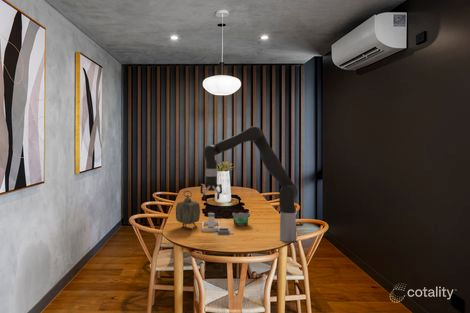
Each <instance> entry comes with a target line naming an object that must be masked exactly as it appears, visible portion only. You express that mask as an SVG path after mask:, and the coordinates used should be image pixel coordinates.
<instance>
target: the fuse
mask: <svg viewBox="0 0 470 313" xmlns="http://www.w3.org/2000/svg"><path fill="white" fill-rule="evenodd" d="M207 219H208V220H207V222H208V225H207V228H215V225H214V221H215V213H214V212H208V213H207Z"/></svg>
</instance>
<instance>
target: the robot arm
mask: <svg viewBox="0 0 470 313" xmlns="http://www.w3.org/2000/svg"><path fill="white" fill-rule="evenodd" d="M246 142H253V143H254V145H255V146H256V148H257V149H258V151H259V154H260V158H261V160H262V163H263V165H264V167H265V168H266V170H267V171H268V173H269V174H270V175H271V177H273V178H274V179H275V180H276V181H277V182H278V184H279V185H280V187H281V188H280V190H279V194H278V195H279V196H278V203H279V204H278V205H279V210H280V216H279V219H280V221H279V240H280V241H281V242H286V243H293V242H297V223H296V221H297V220H296V219H297V208H296V206H295V199H296V198H298V195H299V190H298V188H297V186H296V185H295V184H294V182H293V181H292V179H291V178H290V177H289V175H288V174H287V171H286V169H285V168H284V166H283V165H282V163H281V161H280V160H279V158H278V156H277V154H276V153H275V151H274V150H273V148H272V147H271V146H270V144H269V143H268V140H267V138H266V135H265V134H264V131H263V130H262V129H261V128H260V127H258V126H255V125H254V126H250V127H247V129H245V130H243V131H242V132H239V133H238V134H236V135H234V136H230V137H228V138H226V139H223V140H221V141H218V143H215V144H209V145H207V146H205V148H204V152H203V153H204V159H205V162H206V163H205V184H203V183H201V184H200V190H199V191H200V194H201V195H202V198H203V200H204V201H206V193H207V192H208V191H209V192H214V191H215V192H216V200H217V201H218V200H219V199H220V194H222V193H223V185H222V184H221V183H220V184H219V183H218V167H217V166H218V165H217V164H218V163H217V160H216V159H215V156H217V155H220V154H221V153H223V152H227V151H229V150H231V149H233V148H235V147H237V146H238V145H239V146H240V145H241V144H243V143H246ZM204 187H205V189H204V191H203V188H204ZM218 188H219V191H218Z"/></svg>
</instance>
